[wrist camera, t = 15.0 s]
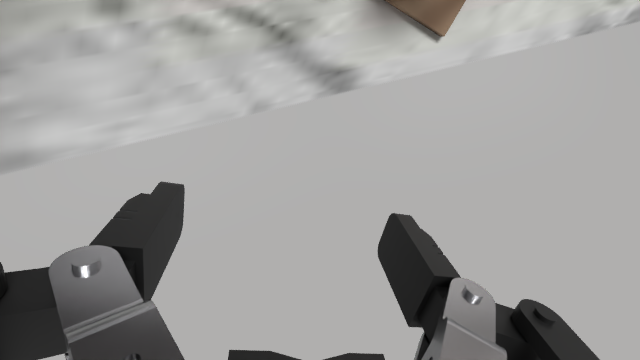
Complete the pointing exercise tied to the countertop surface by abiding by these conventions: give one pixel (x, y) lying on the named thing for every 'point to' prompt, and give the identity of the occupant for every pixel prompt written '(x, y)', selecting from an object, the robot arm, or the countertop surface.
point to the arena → (431, 12)
